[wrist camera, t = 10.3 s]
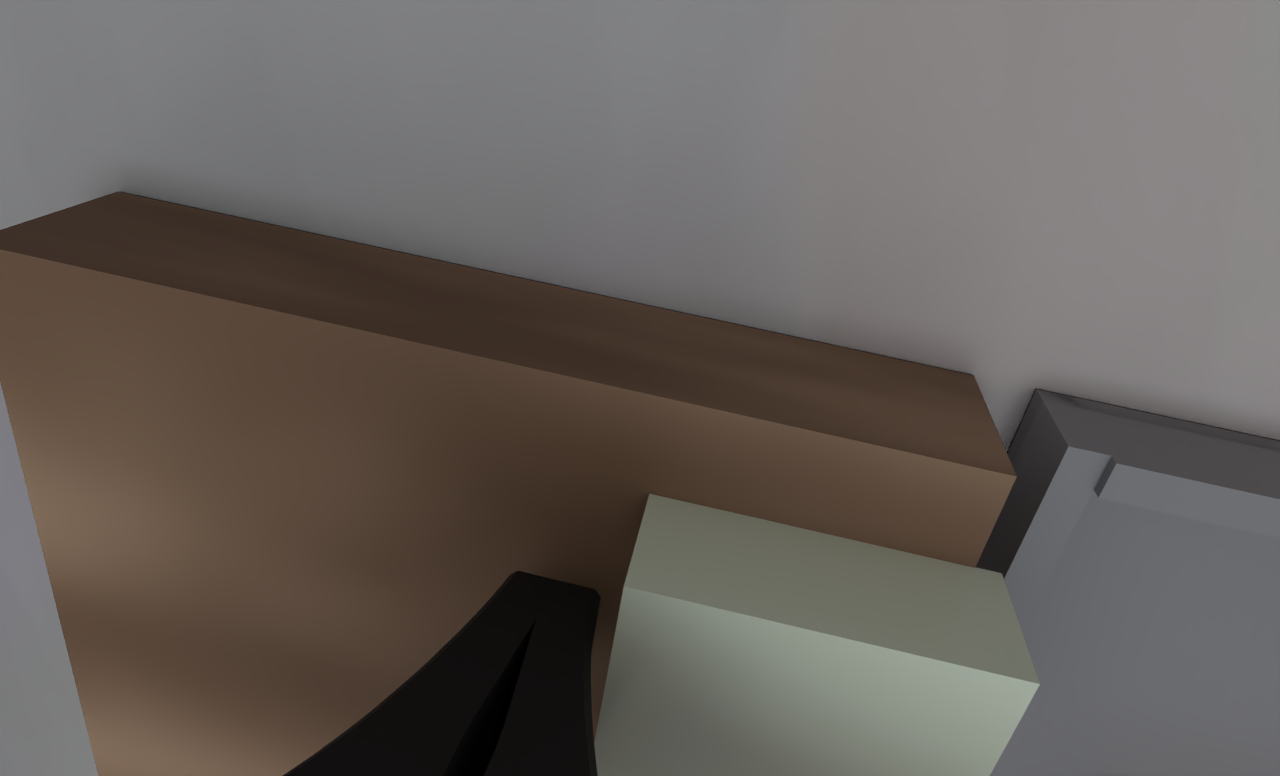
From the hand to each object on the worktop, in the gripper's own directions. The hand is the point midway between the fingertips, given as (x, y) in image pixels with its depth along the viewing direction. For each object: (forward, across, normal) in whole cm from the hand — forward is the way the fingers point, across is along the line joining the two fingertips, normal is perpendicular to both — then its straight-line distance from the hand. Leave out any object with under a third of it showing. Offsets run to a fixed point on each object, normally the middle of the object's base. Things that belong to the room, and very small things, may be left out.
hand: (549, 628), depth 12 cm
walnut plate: (+4, +2, +4) cm, 6 cm away
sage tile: (+1, -4, 0) cm, 4 cm away
